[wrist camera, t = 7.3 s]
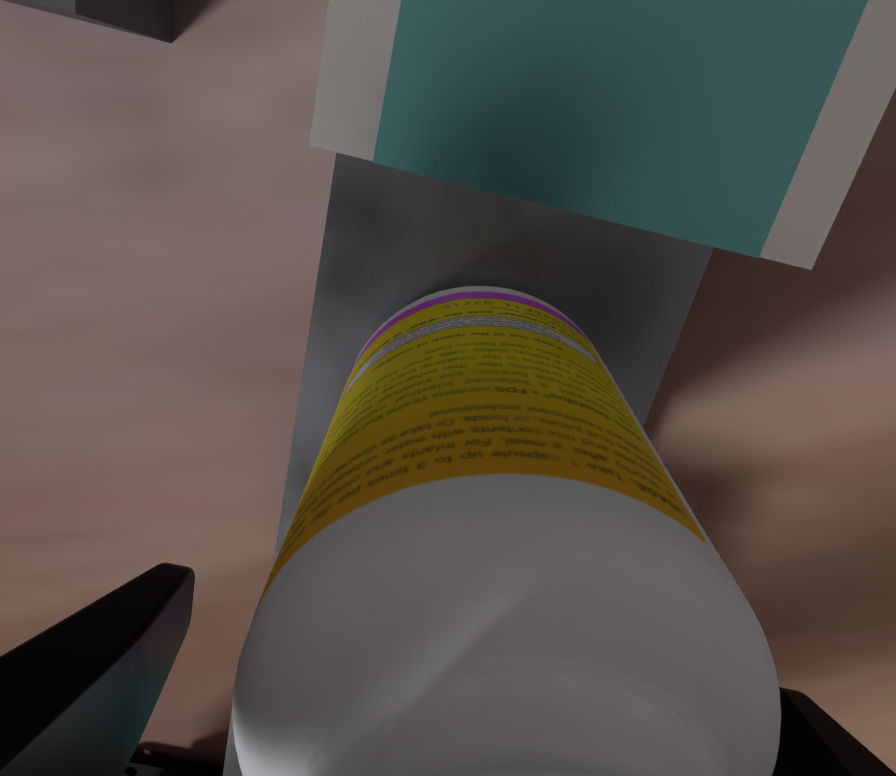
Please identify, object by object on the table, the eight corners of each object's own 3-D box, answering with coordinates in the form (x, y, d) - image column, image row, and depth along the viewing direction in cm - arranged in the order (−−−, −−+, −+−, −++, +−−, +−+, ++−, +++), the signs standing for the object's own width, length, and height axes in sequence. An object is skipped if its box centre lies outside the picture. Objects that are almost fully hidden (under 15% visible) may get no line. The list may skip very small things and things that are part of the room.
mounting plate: (529, 666, 22) (555, 883, 15) (273, 615, 21) (192, 818, 15) (773, 24, 14) (1017, -62, 8) (385, -82, 14) (316, -264, 7)
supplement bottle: (301, 343, 16) (-178, 1045, 4) (550, 232, 14) (978, 743, 3) (417, 543, 18) (345, 1355, 6) (638, 461, 17) (1069, 1268, 5)
